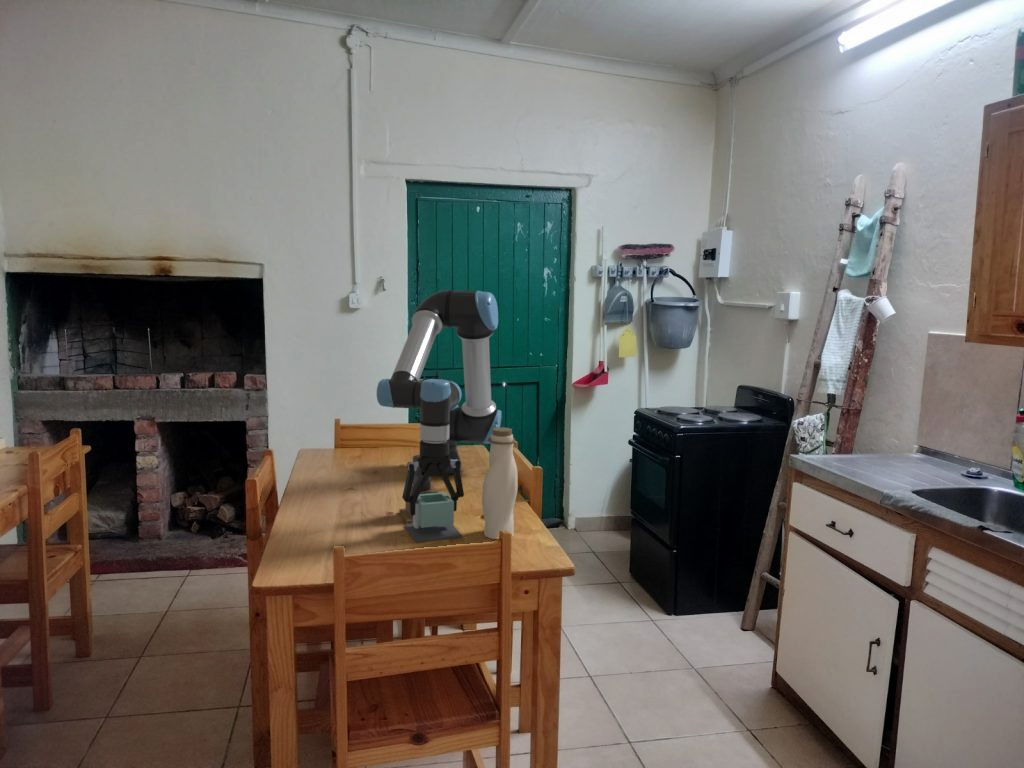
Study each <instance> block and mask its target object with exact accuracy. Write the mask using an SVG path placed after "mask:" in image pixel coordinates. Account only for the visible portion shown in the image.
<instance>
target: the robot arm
mask: <svg viewBox="0 0 1024 768" xmlns="http://www.w3.org/2000/svg"><path fill="white" fill-rule="evenodd" d="M498 309H499V307H498V303H497V300H496V297H495V296H494V294H493V293H491V292H489V291H481V290H450V289H445V290H444V289H443V290H439V291H437V292H434V293H432V294H431V295H429V296H427V297H426V298H425V299H424V300H423V301H421V303H420V304H418V306H417V307H416V308H415V310H414V313H413V315H412V317H411V325H412V326H411V328H410V330H409V333H408V335H407V339H406V341H405V343H404V346H403V348H402V351H401V353H400V356H399V358H398V361H397V363H396V365H395V368H394V370H393V371H392V372H393V373H392V375H391V377H390V379H389V378H383V379H381V380H379V382H378V383H377V387H376V400H377V402H378V404H379V405H380V406H381V407H386V408H393V409H395V408H397V409H416V410H420V413H419V416H420V417H419V418H420V419H419V420H420V421H419V423H420V424H419V425H420V426H419V439H420V441H419V455H420V457H419V460H418V462H413V461H412V462H411V461H408V462H407V463H406V466H407V473H406V479H405V483H404V487H403V493H402V500H404V501H403V502H405V503H406V502H409V503H410V505H409V512H410V514H411V515H413V526H414V527H415V529H416V528H418V515H419V504H418V502H417V499H418V497H419V494H420V492H421V490H422V488H423V486H424V484H425V482H426V480H427V479H428V477H431V478H432V477H435V476H436V477H441V478H442V481H443V483H444V485H445V488H446V491H448V494H449V497H450V498H451V499H452V500H453V501H454V512H456V511H457V509H458V508H457V506H458V505H457V503H458V501H459V499H460V498H463V497H464V495H465V492H464V486H463V481H462V475H461V472H462V466H463V465H462V460H461V458H460V454H459V451H458V443H459V442H461V443H470V444H471V443H475V444H481V445H485V444H487V445H488V444H489V445H491V443H490V442H488V439H489V438H490V437H491V435H492V433H493V428H498V427H501V424H502V423H501V422H502V413H503V412H502V410H500V409H497V404H496V402H495V401H494V400H492V385H491V382H492V380H491V379H492V378H491V361H490V360H491V359H490V337H492V336H493V335H494V330H497V329H498V325H499V310H498ZM443 328H449V329H455V330H456V336H457V337H458V338H460V340H461V345H462V349H461V350H462V362H463V365H462V366H463V379H464V393H465V394H464V395H465V397H464V398H465V401H464V402H463V403H462V405H461V407H459V403H460V402H461V399H462V397H463V395H462V390H461V387H460V386H459V385H458V384H457V383H456V382H455V381H452V380H447V379H441V378H430V379H429V378H428V379H424V380H423V381H420V379H421V377H422V373H423V371H424V368H425V366H426V362H427V361H428V357H429V356H430V352H431V349H432V347H433V344H434V342H435V338H436V336H437V335H438V334H440V332H441V331H442V329H443ZM418 466H419V467H420V468H421V469H422V471H421V473H420V477H419V479H418V481H417V483H416V485H415V487H414V489H413V491H412V493H411V489H412V486H413V480H414V475H415V471H416V470H417V467H418ZM450 475H453V478H454V483H455V489H456V491H455V489H454V487H453V485H452V482H451V480H450V478H449V476H450ZM410 493H411V496H410ZM452 525H453V526H454V524H452Z"/></svg>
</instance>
